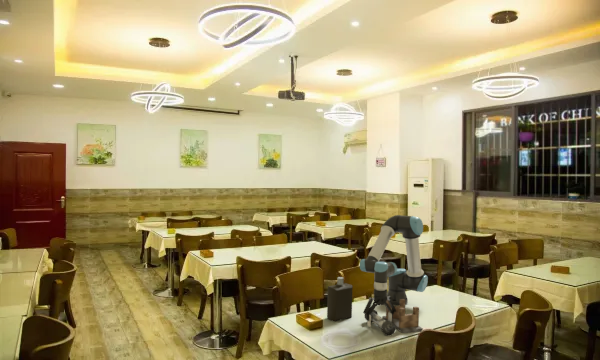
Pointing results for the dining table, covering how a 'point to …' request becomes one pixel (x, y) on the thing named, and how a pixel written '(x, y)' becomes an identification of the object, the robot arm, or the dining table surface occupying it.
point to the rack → (404, 318)
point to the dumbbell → (383, 323)
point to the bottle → (339, 301)
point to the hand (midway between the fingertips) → (379, 325)
